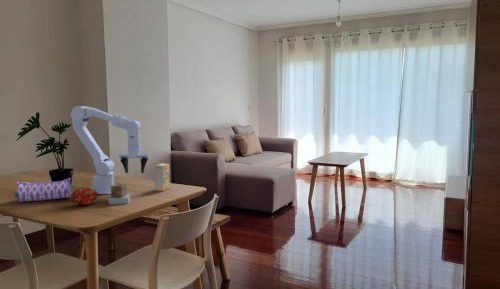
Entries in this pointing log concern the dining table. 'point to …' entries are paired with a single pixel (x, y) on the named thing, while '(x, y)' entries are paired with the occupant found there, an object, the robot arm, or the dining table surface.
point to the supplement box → (161, 177)
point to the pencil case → (43, 190)
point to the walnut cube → (118, 190)
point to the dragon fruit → (84, 196)
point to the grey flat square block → (119, 200)
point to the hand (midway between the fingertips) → (134, 172)
